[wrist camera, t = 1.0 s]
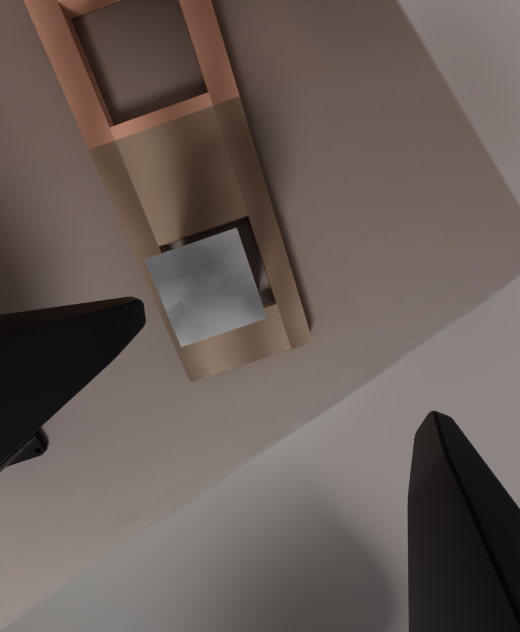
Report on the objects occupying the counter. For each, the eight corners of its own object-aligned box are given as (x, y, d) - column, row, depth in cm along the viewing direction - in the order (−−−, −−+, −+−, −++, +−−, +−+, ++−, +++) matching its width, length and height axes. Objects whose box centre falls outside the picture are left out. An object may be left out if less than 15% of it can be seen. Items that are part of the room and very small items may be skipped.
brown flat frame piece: (193, 375, 23) (190, 382, 22) (28, -6, 16) (12, -26, 15) (309, 336, 22) (312, 341, 21) (188, -66, 16) (184, -90, 15)
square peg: (203, 311, 22) (181, 347, 14) (181, 255, 20) (143, 259, 13) (258, 292, 21) (267, 318, 14) (239, 235, 20) (236, 227, 13)
